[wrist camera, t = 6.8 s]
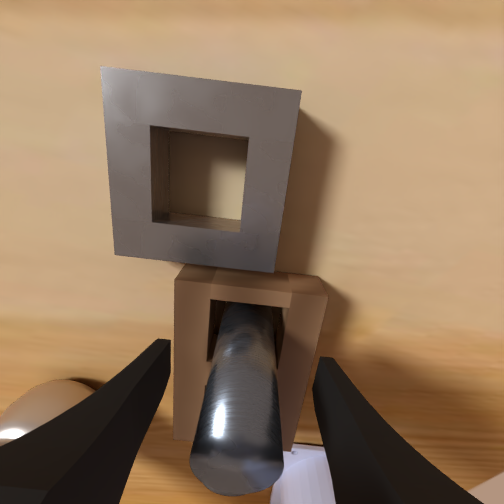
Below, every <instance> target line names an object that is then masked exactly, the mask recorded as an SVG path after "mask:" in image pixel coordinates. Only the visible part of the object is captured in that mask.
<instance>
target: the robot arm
mask: <svg viewBox="0 0 504 504" xmlns="http://www.w3.org/2000/svg"><path fill="white" fill-rule="evenodd" d="M170 373H171V340H167V339H157V340H155V341H154V342H153V343H152V344H151V345H150V346H149V347H148V348H147V349H146V350H145V351H144V352H142V353H141V354H140V355H139V356H138V357H137V358H136V359H135V360H134V361H132V362H131V363H130V364H129V365H128V366H127V367H125V368H124V369H123V370H122V371H121V372H120V373H118V374H117V375H116V376H115V377H113V378H112V379H111V380H110V381H108V382H107V383H106V384H105V385H103V386H102V387H101V388H99V389H98V390H96V391H95V392H94V393H92V394H91V395H89V396H88V397H87V398H85V399H84V400H82V401H81V402H79V403H78V404H76V405H75V406H73V407H71V408H70V409H68V410H66V411H65V412H63V413H62V414H60V415H58V416H57V417H55V418H53V419H52V420H50V421H48V422H46V423H45V424H43V425H41V426H39V427H37V428H36V429H34V430H32V431H30V432H28V433H26V434H24V435H22V436H20V437H19V438H17V439H15V440H13V441H11V442H9V443H6V444H4V445H2V446H0V504H119V502H120V499H121V496H122V494H123V491H124V488H125V485H126V482H127V479H128V477H129V474H130V471H131V468H132V466H133V463H134V460H135V457H136V455H137V453H138V450H139V448H140V445H141V443H142V441H143V439H144V437H145V434H146V432H147V430H148V428H149V426H150V424H151V421H152V419H153V417H154V415H155V413H156V410H157V408H158V406H159V404H160V402H161V399H162V397H163V395H164V392H165V389H166V386H167V383H168V380H169V376H170ZM312 392H313V400H314V407H315V413H316V417H317V421H318V425H319V429H320V433H321V437H322V441H323V445H324V447H321V446H311V445H302V444H293V446H292V450H291V452H287V451H283V457H284V469H283V473H282V475H281V476H280V478H279V479H278V480H277V481H276V482H275V483H274V484H273V488H272V493H271V497H270V504H484V503H482V502H481V501H479V500H478V499H477V498H475V497H474V496H472V495H471V494H470V493H468V492H467V491H465V490H464V489H463V488H461V487H460V486H459V485H458V484H456V483H455V482H454V481H452V480H451V479H450V478H449V477H447V476H446V475H445V474H443V473H442V472H441V471H440V470H439V469H437V468H436V467H435V466H434V465H432V464H431V463H430V462H429V461H428V460H427V459H425V458H424V457H423V456H422V455H421V454H420V453H419V452H417V451H416V450H415V449H414V448H413V447H412V446H411V445H410V444H408V443H407V442H406V441H405V440H404V439H403V438H402V437H401V436H400V435H399V434H398V433H397V432H396V431H395V430H394V429H393V428H392V427H391V426H390V425H389V424H388V423H387V422H386V421H385V420H384V419H383V418H382V417H381V416H380V415H379V414H378V413H377V411H376V410H375V409H374V408H373V407H372V406H371V405H370V404H369V402H368V401H367V400H366V399H365V398H364V397H363V395H362V394H361V393H360V392H359V391H358V389H357V388H356V387H355V386H354V384H353V383H352V382H351V381H350V379H349V378H348V377H347V375H346V374H345V373H344V372H343V370H342V369H341V368H340V366H339V365H338V364H337V362H336V361H335V360H334V359H333V358H330V357H321V356H320V360H319V364H318V367H317V371H316V375H315V379H314V383H313V387H312Z"/></svg>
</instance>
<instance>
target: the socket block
mask: <svg viewBox="0 0 504 504" xmlns="http://www.w3.org/2000/svg"><path fill="white" fill-rule="evenodd" d="M100 69H101V82H102V95H103V108H104V121H105V134H106V147H107V160H108V173H109V186H110V199H111V212H112V225H113V238H114V251H115V255H119V256H128V257H137V258H145V259H154V260H163V261H172V262H181V263H189V264H198V265H207V266H216V267H225V268H233V269H242V270H251V271H260V272H269V273H274V268H275V262H276V255H277V249H278V242H279V236H280V229H281V223H282V216H283V210H284V203H285V197H286V190H287V184H288V177H289V171H290V164H291V158H292V151H293V145H294V138H295V132H296V125H297V119H298V112H299V106H300V99H301V93H302V91H301V90H293V89H285V88H276V87H268V86H260V85H252V84H244V83H235V82H227V81H219V80H211V79H202V78H194V77H186V76H178V75H170V74H161V73H153V72H145V71H137V70H128V69H120V68H112V67H104V66H100ZM169 131H173V132H182V133H190V134H199V135H207V136H215V137H224V138H232V139H240V140H249V144H248V154H247V164H246V174H245V184H244V195H243V205H242V215H241V220H233V219H224V218H216V217H207V216H198V215H190V214H181V213H172V212H169Z"/></svg>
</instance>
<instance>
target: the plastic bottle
mask: <svg viewBox="0 0 504 504" xmlns="http://www.w3.org/2000/svg"><path fill="white" fill-rule="evenodd" d="M94 392H95V390H94V389H92V388H91V387H89V386H87V385H85V384H82V383H79V382H76V381H72V380H62V379H61V380H53V381H50V382H47V383H44V384H40V385H37V386H35V387H33V388H32V389H30V390H29V391H28V392H26V393H25V394H24V395H22V396H21V397H20V398H19V399H17V400H16V401H15V402H13V403H12V404H11V405H10V406H9V407H8V408H7V409H6V410H5V411H4V412H3V414H2V415H1V416H0V446H2V445H4V444H6V443H9V442H11V441H13V440H15V439H17V438H19V437H20V436H22V435H24V434H26V433H28V432H30V431H32V430H34V429H36V428H37V427H39V426H41V425H43V424H45V423H46V422H48V421H50V420H52V419H53V418H55V417H57V416H58V415H60V414H62V413H63V412H65V411H66V410H68V409H70V408H71V407H73V406H75V405H76V404H78V403H79V402H81V401H82V400H84V399H85V398H87V397H88V396H89V395H91V394H92V393H94Z"/></svg>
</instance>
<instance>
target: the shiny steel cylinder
mask: <svg viewBox="0 0 504 504" xmlns="http://www.w3.org/2000/svg"><path fill="white" fill-rule="evenodd" d="M190 467H191V470H192V472H193V473H194V475H195V476H196V477H197V478H198V479H199V480H200V481H201V482H202V483H204V484H205V485H207V486H209V487H211V488H213V489H215V490H218V491H221V492H225V493H232V494H248V493H254V492H258V491H261V490H264V489H266V488H268V487H270V486H271V485H273V484H274V483H275V482H276V481H277V480H278V479H279V478H280V476H281V475H282V473H283V469H284V457H283V444H282V432H281V419H280V407H279V394H278V382H277V369H276V357H275V344H274V332H273V319H272V307H271V306H267V305H258V304H250V303H241V302H232V301H226V304H225V308H224V313H223V317H222V321H221V326H220V330H219V334H218V338H217V343H216V347H215V351H214V356H213V360H212V364H211V368H210V373H209V377H208V381H207V386H206V390H205V394H204V398H203V403H202V407H201V411H200V416H199V420H198V424H197V428H196V433H195V437H194V441H193V446H192V450H191V454H190Z"/></svg>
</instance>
